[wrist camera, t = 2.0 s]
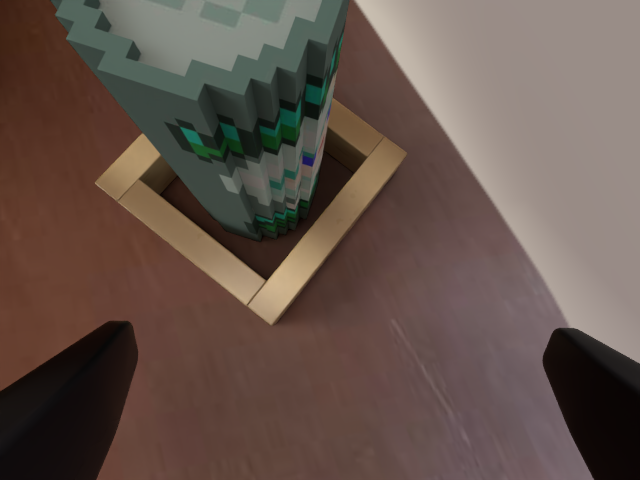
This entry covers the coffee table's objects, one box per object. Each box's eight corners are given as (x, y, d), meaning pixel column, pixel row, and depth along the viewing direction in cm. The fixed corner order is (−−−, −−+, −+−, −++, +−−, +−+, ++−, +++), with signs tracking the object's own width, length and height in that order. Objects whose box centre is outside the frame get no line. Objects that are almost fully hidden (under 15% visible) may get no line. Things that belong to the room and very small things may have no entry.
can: (295, 253, 23) (296, 132, 8) (190, 219, 23) (-4, 36, 8) (327, 154, 24) (380, -109, 9) (227, 123, 24) (120, -191, 9)
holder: (274, 325, 22) (271, 326, 19) (119, 200, 23) (93, 182, 20) (394, 173, 24) (408, 153, 21) (248, 63, 25) (242, 29, 22)
